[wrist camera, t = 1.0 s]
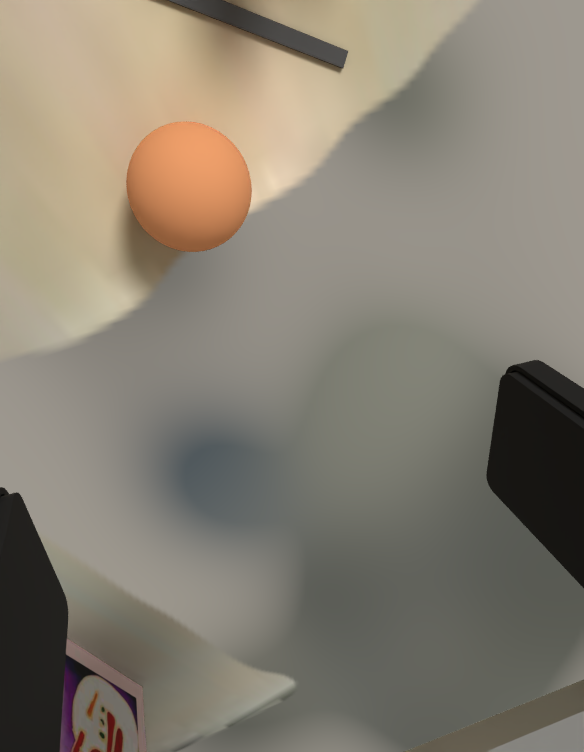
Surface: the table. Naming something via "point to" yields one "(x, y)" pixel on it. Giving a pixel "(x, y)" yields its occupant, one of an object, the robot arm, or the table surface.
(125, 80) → the table surface
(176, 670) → the table surface
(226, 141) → the ball
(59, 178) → the table surface
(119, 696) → the greeting card
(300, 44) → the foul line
